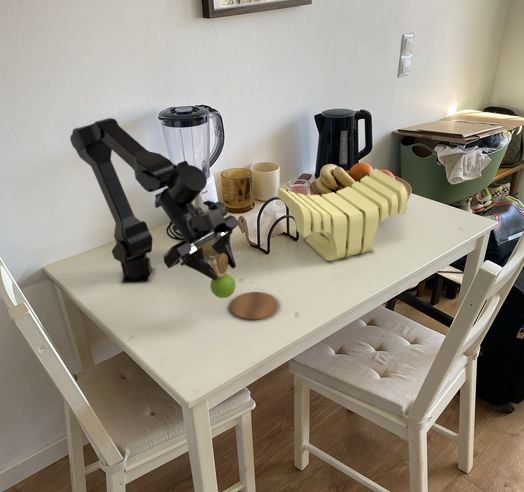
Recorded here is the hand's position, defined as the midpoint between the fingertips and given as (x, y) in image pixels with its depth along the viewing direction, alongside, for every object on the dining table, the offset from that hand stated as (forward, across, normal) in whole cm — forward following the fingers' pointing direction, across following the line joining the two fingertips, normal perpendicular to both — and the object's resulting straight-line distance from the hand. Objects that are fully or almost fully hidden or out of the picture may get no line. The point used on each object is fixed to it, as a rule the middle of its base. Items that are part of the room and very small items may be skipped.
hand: (225, 273), depth 110 cm
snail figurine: (+4, 0, +6) cm, 7 cm away
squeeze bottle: (-9, +20, +28) cm, 36 cm away
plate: (+10, +8, +9) cm, 16 cm away
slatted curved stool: (+11, +45, +8) cm, 47 cm away
